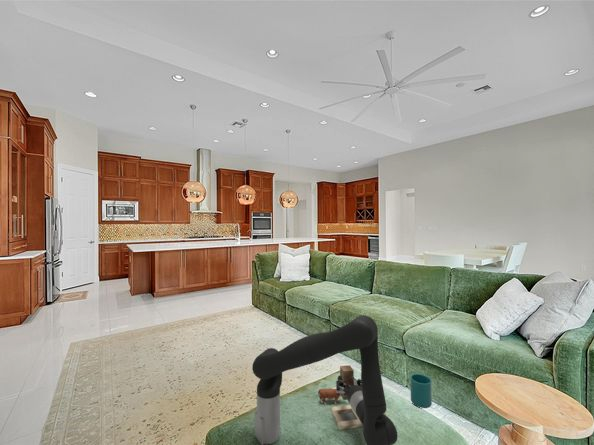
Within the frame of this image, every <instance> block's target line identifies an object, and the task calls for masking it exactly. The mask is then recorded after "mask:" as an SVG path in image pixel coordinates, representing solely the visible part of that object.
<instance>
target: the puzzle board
mask: <svg viewBox="0 0 594 445" xmlns="http://www.w3.org/2000/svg"><path fill="white" fill-rule="evenodd" d="M330 412H331V414H332V417H333V419H334V421H335V423H336V426H337V428H338V430H339V431H342V430H343V431H344V430H350V429H357V428H358V429H359V428H363V424H362V423H361V421H360V420H359V418H358V416H357V414H356V413H355V412H354V410H353V409H352V407H351V405H350V404H346V405H340V406H339V405H338V406H332V407H330ZM384 415H386V416H387V417H388V415H387V414H386V412H385V413H384Z"/></svg>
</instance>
